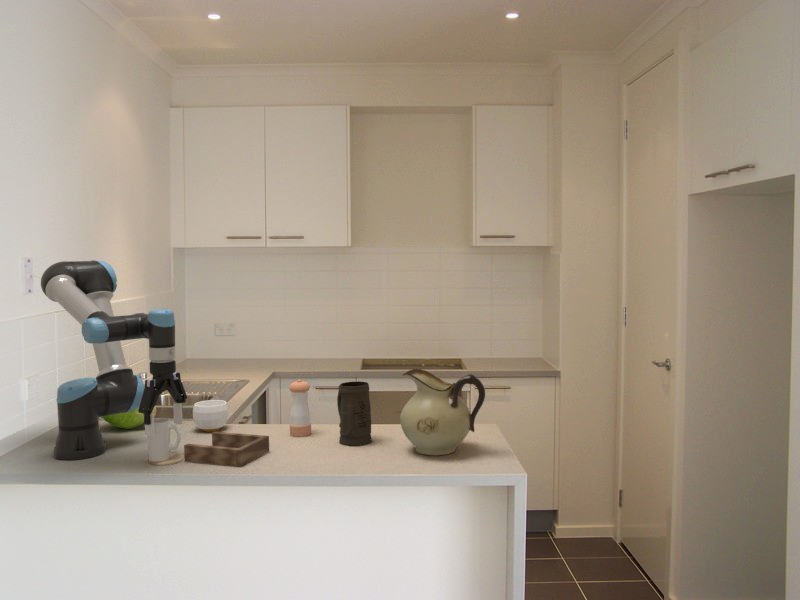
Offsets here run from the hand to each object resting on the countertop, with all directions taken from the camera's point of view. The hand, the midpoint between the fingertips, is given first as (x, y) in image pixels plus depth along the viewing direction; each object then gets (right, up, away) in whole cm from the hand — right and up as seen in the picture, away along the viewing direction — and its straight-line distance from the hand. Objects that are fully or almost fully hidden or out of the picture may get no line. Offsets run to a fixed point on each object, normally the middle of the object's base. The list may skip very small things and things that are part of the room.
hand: (164, 429), depth 213 cm
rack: (+18, -9, +4) cm, 20 cm away
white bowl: (+4, -7, +37) cm, 38 cm away
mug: (0, -9, 0) cm, 9 cm away
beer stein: (+56, -8, +20) cm, 59 cm away
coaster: (+1, -10, 0) cm, 10 cm away
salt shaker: (+38, -7, +29) cm, 48 cm away
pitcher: (+84, -8, +7) cm, 85 cm away
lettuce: (-27, -7, +42) cm, 50 cm away
